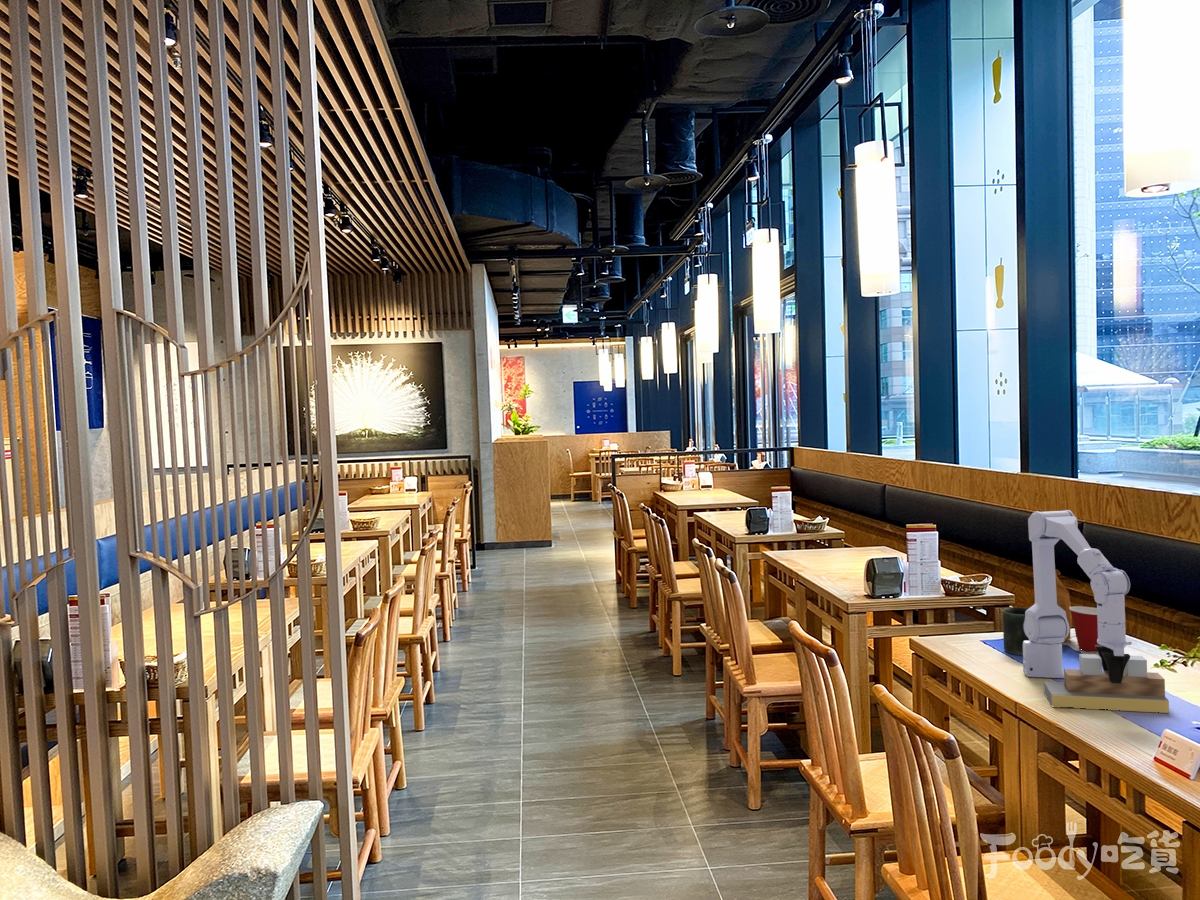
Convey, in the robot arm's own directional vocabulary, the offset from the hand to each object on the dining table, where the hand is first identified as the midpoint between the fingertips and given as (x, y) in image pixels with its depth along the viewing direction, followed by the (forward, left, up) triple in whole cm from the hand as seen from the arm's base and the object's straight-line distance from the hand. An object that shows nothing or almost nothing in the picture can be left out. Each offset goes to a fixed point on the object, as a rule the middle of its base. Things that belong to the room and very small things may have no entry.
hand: (1112, 679), depth 213 cm
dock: (-2, 0, -6) cm, 6 cm away
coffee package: (-3, +68, -6) cm, 68 cm away
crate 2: (+5, 0, +1) cm, 5 cm away
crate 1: (-5, 0, +1) cm, 5 cm away
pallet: (0, 0, -3) cm, 3 cm away
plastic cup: (+5, +54, -6) cm, 55 cm away
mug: (-14, +50, -6) cm, 52 cm away
